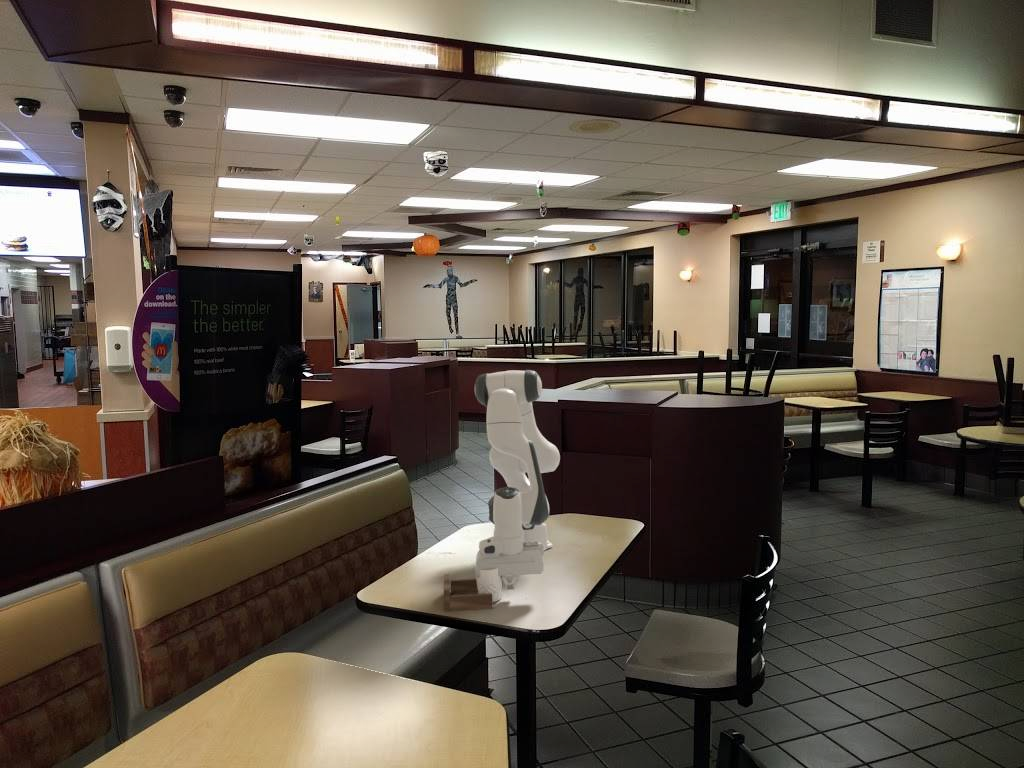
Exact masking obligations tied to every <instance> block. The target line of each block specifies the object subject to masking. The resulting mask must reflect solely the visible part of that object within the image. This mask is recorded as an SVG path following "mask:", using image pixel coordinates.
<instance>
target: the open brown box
mask: <svg viewBox="0 0 1024 768" xmlns="http://www.w3.org/2000/svg"><path fill="white" fill-rule="evenodd" d="M443 575H444V576H443V607H444V609H443V611H444V612H450V611H451V610H454V611H467V610H468V611H469V610H486V609H493V606H494V605H493V602H492V593H490V594H478V589H477V582H476V578H463V579H462V578H461V579H460V578H459V579H450V578H451V577H450V573H444V574H443ZM473 593H474V594H473ZM457 594H459V595H457Z"/></svg>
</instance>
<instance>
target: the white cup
mask: <svg viewBox="0 0 1024 768" xmlns="http://www.w3.org/2000/svg"><path fill="white" fill-rule="evenodd" d="M475 579H476V582H477V589H478V593H477V594H490V593H492V603H496V602H499V600H501V599H502V588H503V587H502V582H503V580H502V576H498V568H496V569H492V570H480V578H479V577H477V576H476V575H475Z"/></svg>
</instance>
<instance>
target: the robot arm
mask: <svg viewBox="0 0 1024 768" xmlns="http://www.w3.org/2000/svg"><path fill="white" fill-rule="evenodd" d="M541 379H542V378H541V377H540V374H539V373H538V372H537V371H535V370H531V369H526V370H515V369H513V370H506V371H496V372H492V373H491V372H490V373H488V372H487V373H483V374H479V375H478V376H477V378H476V380H475V384H474V395H475V398H476V399H477V400H476V401H478V402H479V404H481V405H482V406H484V407H485V408H486V420H485V421H486V434H487V435H486V436H487V440H488V443H489V445H490V446H491V448H490V450H489V454H488V455H489V456H488V458H489V462H490V465H491V466H492V468H493V469H494V470H496V471H497V472H498V473H499V474H500V475H501V476H502V477H503V479H504V482H505V484H506V485H507V486H504V487H499V488H498V489H496V490H495V492H494V495H493V496H491V498H490V499H489V500H488V502H487V503H488V505H487V506H488V513H489V515H488V520H489V521H490V522H491V523H492V524H493V525H494V530H493V535H492V536H490V537H488V538H486V539H483V540H480V541H479V543H478V551H477V553H476V557H475V565H474V571H475V577H476V576H477V577H479V578H480V570H492V569H496V568H498V576H502V582H503V583H504V585H505V588H504V589H505V591H515V588H516V587H515V586H516V583H517V582H518V580H519V576H527V575H528V576H529V575H530V576H531V575H541V574H542V573H543V572H544V570H545V569H544V568H545V567H544V560H543V555H544V554H545V551H546V550H547V549H551V548H553V543H552V542H550V541H549V539H548V528H547V524H546V523H545V522H546V521H547V519H549V517H550V504H549V501H548V498H547V495H546V492H545V488H544V484H543V479H542V474H544V473H550V472H555V471H556V470H557V468H558V466H559V465H560V463H561V462H560V460H561V455H560V451H559V449H558V447H557V446H556V445H555V444H553V443H552V442H550V441H548V439H546V438H545V436H543V434H542V433H541V431H540V430H539V428H538V426H537V422H536V417H535V414H534V408H533V402H536V401H537V400H539V398H540V397H541V394H542V391H543V383H542V382H543V381H542V380H541ZM526 473H527V475H526ZM527 476H528V477H527ZM511 576H512V581H511V582H510V581H509V582H508V581H507V578H508V577H511Z"/></svg>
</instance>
